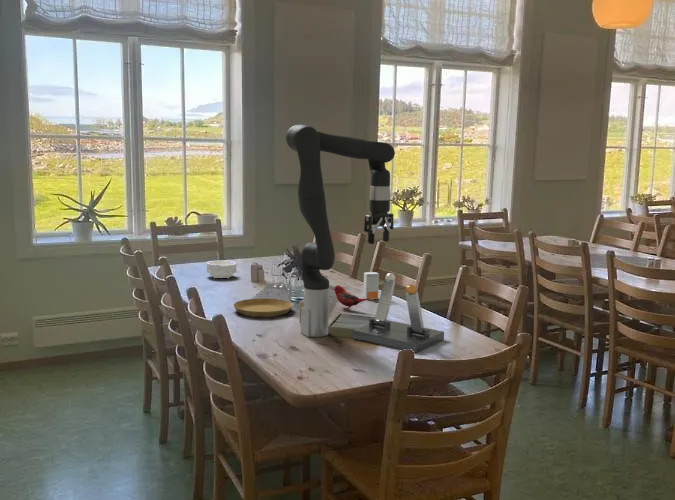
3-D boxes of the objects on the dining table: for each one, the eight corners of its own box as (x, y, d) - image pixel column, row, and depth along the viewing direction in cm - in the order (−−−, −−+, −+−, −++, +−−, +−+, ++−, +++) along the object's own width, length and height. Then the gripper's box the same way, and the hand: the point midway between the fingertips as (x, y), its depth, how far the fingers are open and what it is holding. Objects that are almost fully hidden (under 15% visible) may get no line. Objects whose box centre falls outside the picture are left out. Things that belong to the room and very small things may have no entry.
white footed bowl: (242, 277, 335) (242, 262, 333) (222, 281, 322) (222, 266, 321) (220, 273, 343) (220, 258, 341) (200, 277, 330) (200, 262, 329)
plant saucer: (249, 302, 280) (249, 295, 279) (301, 308, 273) (301, 300, 272) (223, 316, 257) (223, 307, 257) (278, 322, 250) (278, 314, 249)
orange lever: (422, 338, 223) (414, 288, 214) (410, 335, 226) (401, 286, 217) (427, 332, 225) (419, 283, 216) (415, 329, 228) (406, 281, 219)
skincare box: (365, 300, 289) (366, 274, 287) (362, 298, 293) (363, 272, 291) (378, 299, 291) (379, 273, 289) (375, 297, 295) (376, 271, 293)
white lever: (382, 326, 231) (395, 272, 234) (370, 324, 234) (383, 271, 237) (387, 328, 234) (399, 275, 237) (375, 325, 237) (388, 273, 240)
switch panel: (416, 353, 215) (416, 336, 214) (352, 338, 230) (352, 323, 229) (443, 339, 231) (444, 324, 230) (382, 326, 246) (383, 312, 245)
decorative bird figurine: (334, 306, 275) (334, 283, 274) (370, 312, 267) (371, 289, 265) (330, 308, 273) (331, 285, 271) (367, 314, 264) (368, 290, 263)
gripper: (375, 200, 226) (374, 245, 229) (400, 198, 237) (398, 241, 239) (359, 198, 231) (358, 243, 234) (383, 196, 242) (382, 239, 244)
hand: (378, 242), depth 237 cm, fingers open, 8 cm apart
